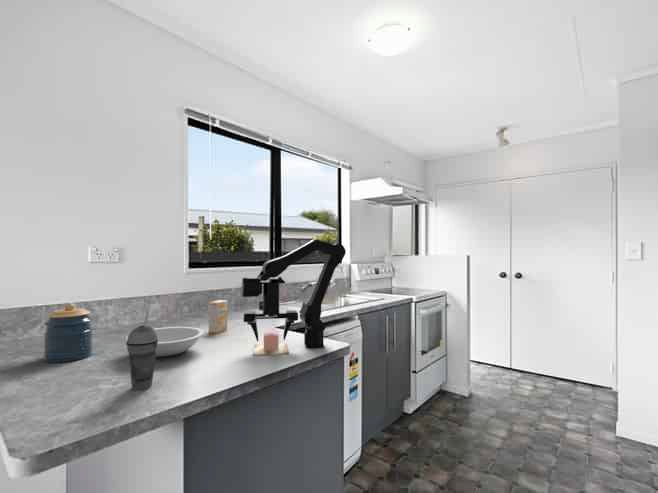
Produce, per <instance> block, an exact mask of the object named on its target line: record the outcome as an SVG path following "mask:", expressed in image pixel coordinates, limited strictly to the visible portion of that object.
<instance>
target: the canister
mask: <svg viewBox="0 0 658 493" xmlns="http://www.w3.org/2000/svg"><path fill="white" fill-rule="evenodd" d="M90 313H91V311H89V310H87V309H86V308H84V307H75V305H74V303H72V302H67V303H66V304H65V305H64V307H63V308H61V309H55V310H53V311H52V312H50V313H49V314H47V315H46V316H47V318H48V319H47V320H45V321H44V322H43V325H44V326H45V331H44V332H43V335H44V337H43V354H42V357H43V360H44V362H45V363H46V362H47V363H68V362H72V361H77V360H82V359H85V358H88V357H90V356H91V355H92V352H93V330H94V328H93V327H92V322H93V321H94V318H93V317H92V316H90Z"/></svg>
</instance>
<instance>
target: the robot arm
mask: <svg viewBox="0 0 658 493" xmlns="http://www.w3.org/2000/svg"><path fill="white" fill-rule="evenodd" d="M346 251H347V250H346V248H345V246H344V245H343V244H340V243H329V242H326V241H323V240H320V239H318V238H317V239H311V240H309V242H306V243H305V244H303V245H302V246H301V245H300V247H297V248H295V249H294V250H292V251H290V252H289V253H286V254H285V255H283V256H279V257H275V258H273V259H270V260H267V261H265V262H264V263H263V265H262V268H261V271H260V272H259V273H258V275H257V277H251V278H250V277H242V278H241V280H242V282H241V286H240V294H241V295H240V296H241V298H243V299H244V298H259V297H260V296H261V295H262V301H258V309H259V311H262V313H256V311H253V310H251V311H245V312H244V314H243V323H247V325H250V327H251V329H252V332H253V334H254V336H255V340H256V342H259V330H258V324H257V322H258V320H271V319H272V320H273V319H284V328H283V341H286V337H287V335H288V333H289V332H288V331H289V329H290V328H291V326H292V324H294V323H295V322H296V321H299V319H300V321H301V322H302V323H303V324H304V328H305V332H304V333H303V343H304V345H305V347H306V349H316V348H325V344H324V339H325V338H324V334H325V329H326V324H325V322H323V321H322V320H321V315H322V305H323V304H322V303H323V301H324V298H325V295H326V293H327V291H328V289H329V288H328V287H329V285H330V282H331V281H332V279H333V275H334V274H335V273H334V272H335V271H336V268H337V267H338V266H339V265H340V264H341V263H342V261H343V260H344V257H345V256H346ZM314 252H318V253H321V254H324V256H323V266H322V269H321V270H320V274H319V277H318V278H317V281H316V283H315V286H314V288H313V290H312V294H311V297H310V299H309V300H308V301H307V302H302V303H301V304H302V305H301V308H300V310H299V311H298V312H297V310H295V309H294V310H286V311H285V312H280V284H286V281H285V280H284V279H283V277H281V276H280V275H281V274H282V273H284V272H285V271H286V270H287V269H288V267H290V266H291V265H293V264H295V263H296V262H299V261H300V260H301V259H303V258H305V257H307V256H309V255H310V254H312V253H314ZM298 313H299V314H298Z"/></svg>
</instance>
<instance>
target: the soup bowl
mask: <svg viewBox="0 0 658 493" xmlns="http://www.w3.org/2000/svg"><path fill="white" fill-rule="evenodd" d="M153 329H154V330H155V332H156V334H157V338H158V342H157V348H156V352H155V357H171V356H174V355H178V354H181V353H184V352H186V351H188V350H189V349H191V348H192V347H193V346H194V345H195V344H196V343H197V341H198V340H199V338H200V337H203V335H204V334H205V332H204V330H203V329H201V328H197V327H191V326H189V327H188V326H170V327H167V326H166V327H159V328H157V327H156V328H153ZM128 336H129V335H127V336H126V337H125V342H126V343H127V338H128Z"/></svg>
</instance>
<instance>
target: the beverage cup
mask: <svg viewBox="0 0 658 493" xmlns="http://www.w3.org/2000/svg"><path fill="white" fill-rule="evenodd" d="M149 310H150V309H149V308H146V312H145V320H144V325H139V326H136V327H135V328H133V329H132V330H131V331H130V332H129V334H128V335H127V336H128V338H127V342H126V344H125V345H126V348H127V353H128V358H129V359H128V360H129V375H130V384H131V390H132V391H144V390H148V389H150V388H151V387H152V385H153V379H154V372H155V371H154V370H155V362H156V356H155V352H156V348H157V342H158V338H157V334H156V332H155V330H154V329H155V328H153V327H151V326H149V325H148V318H149V317H148V316H149Z"/></svg>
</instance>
